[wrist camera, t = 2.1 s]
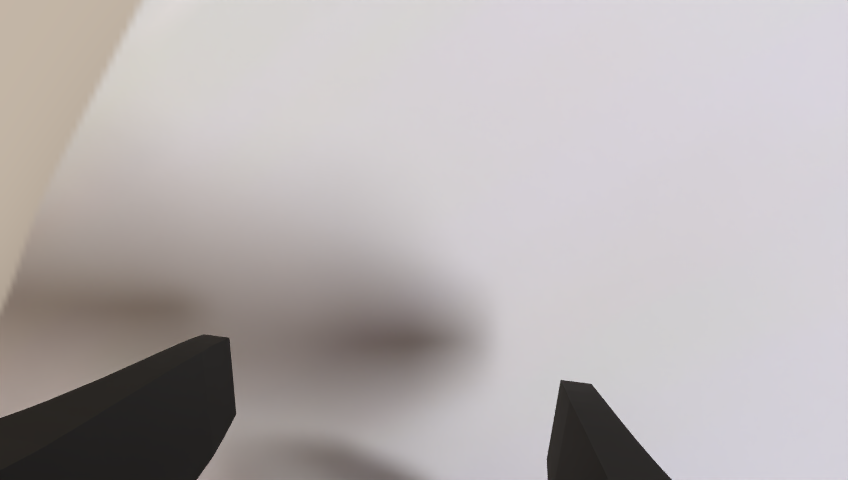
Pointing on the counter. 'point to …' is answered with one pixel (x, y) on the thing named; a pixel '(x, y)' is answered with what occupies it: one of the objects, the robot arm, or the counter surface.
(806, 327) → the counter surface
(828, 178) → the counter surface
